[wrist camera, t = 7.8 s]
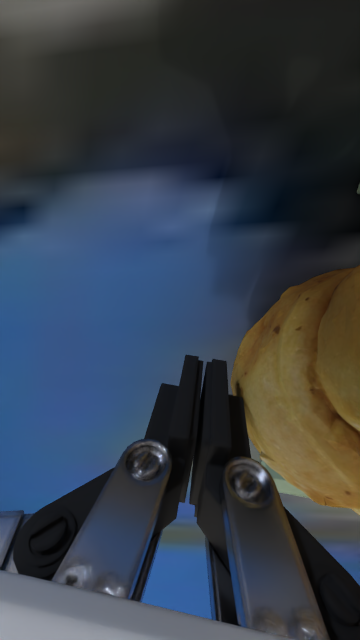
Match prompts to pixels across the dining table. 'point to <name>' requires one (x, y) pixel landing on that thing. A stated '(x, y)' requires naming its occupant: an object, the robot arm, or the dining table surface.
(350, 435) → the bread roll
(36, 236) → the dining table surface
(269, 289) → the dining table surface
